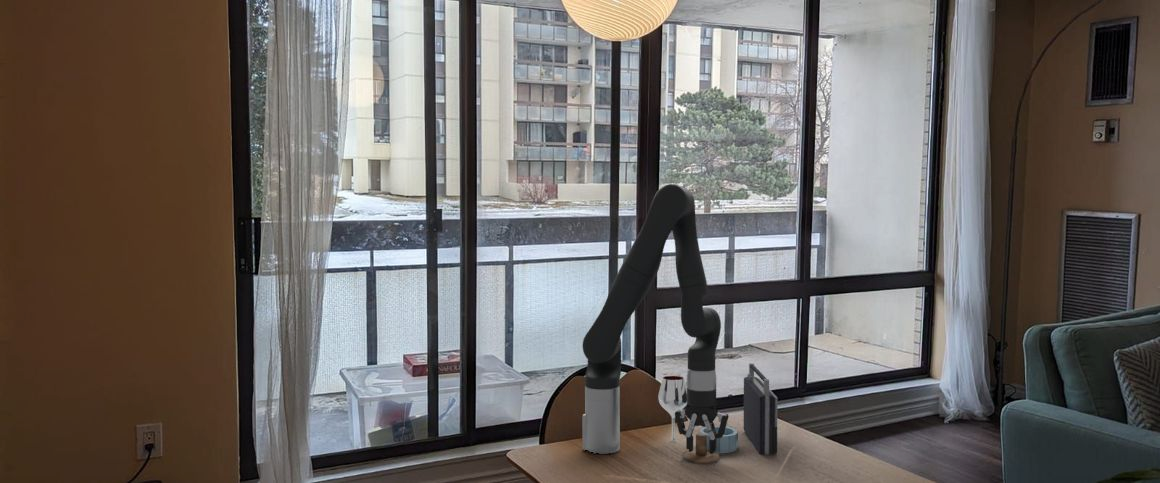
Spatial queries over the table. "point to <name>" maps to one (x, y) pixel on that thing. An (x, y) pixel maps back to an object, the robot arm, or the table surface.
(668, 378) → the wineglass
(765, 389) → the radio
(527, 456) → the table surface
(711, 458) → the lid
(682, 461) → the mat
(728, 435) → the bowl
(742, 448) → the table surface
